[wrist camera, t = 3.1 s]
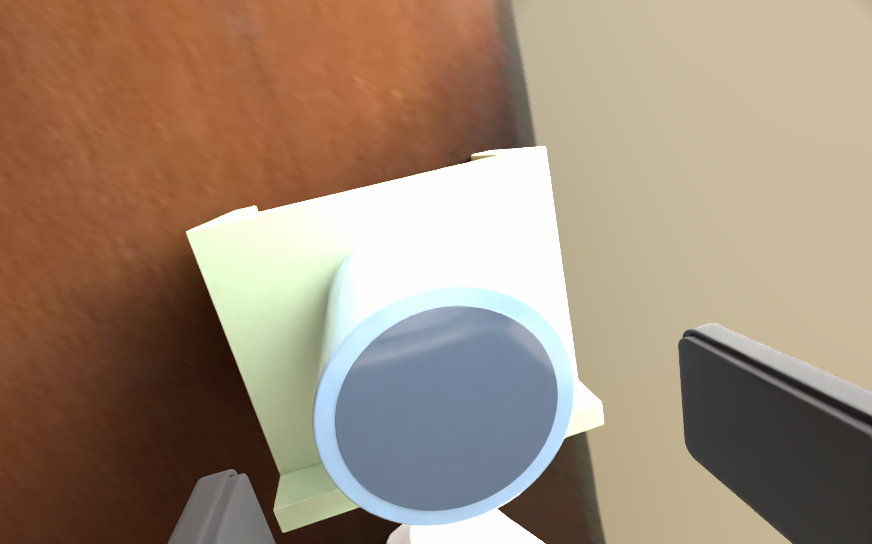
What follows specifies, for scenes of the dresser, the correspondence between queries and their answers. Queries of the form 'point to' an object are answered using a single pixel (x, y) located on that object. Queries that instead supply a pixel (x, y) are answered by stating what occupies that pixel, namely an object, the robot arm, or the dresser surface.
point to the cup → (435, 383)
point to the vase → (466, 532)
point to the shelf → (317, 264)
